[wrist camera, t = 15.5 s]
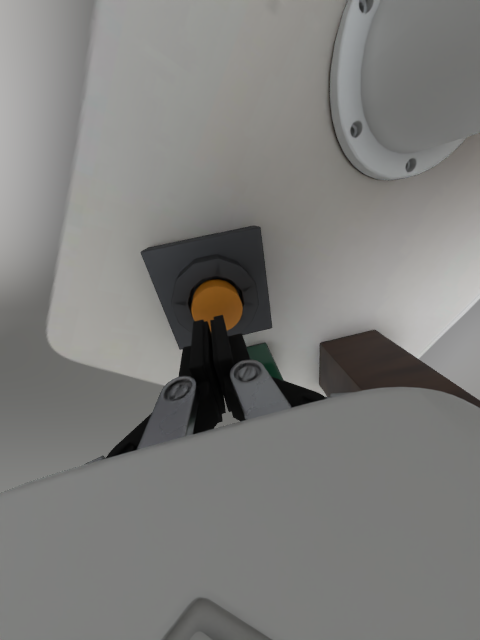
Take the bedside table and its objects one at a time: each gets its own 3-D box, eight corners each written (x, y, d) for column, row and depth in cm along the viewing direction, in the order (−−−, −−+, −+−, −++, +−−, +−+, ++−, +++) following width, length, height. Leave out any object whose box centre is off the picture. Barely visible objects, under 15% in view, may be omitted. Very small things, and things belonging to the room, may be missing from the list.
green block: (227, 351, 22) (234, 393, 17) (265, 342, 23) (284, 381, 17) (235, 379, 25) (243, 424, 19) (269, 371, 25) (287, 413, 19)
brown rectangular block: (319, 342, 24) (410, 443, 13) (375, 329, 24) (505, 417, 14) (319, 384, 27) (390, 491, 17) (367, 372, 28) (467, 469, 17)
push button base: (147, 247, 16) (131, 256, 13) (254, 225, 17) (267, 227, 13) (182, 337, 21) (177, 362, 17) (266, 317, 21) (278, 338, 18)
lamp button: (186, 284, 15) (184, 293, 13) (234, 274, 15) (237, 281, 13) (199, 326, 16) (199, 337, 15) (242, 316, 17) (246, 326, 15)
